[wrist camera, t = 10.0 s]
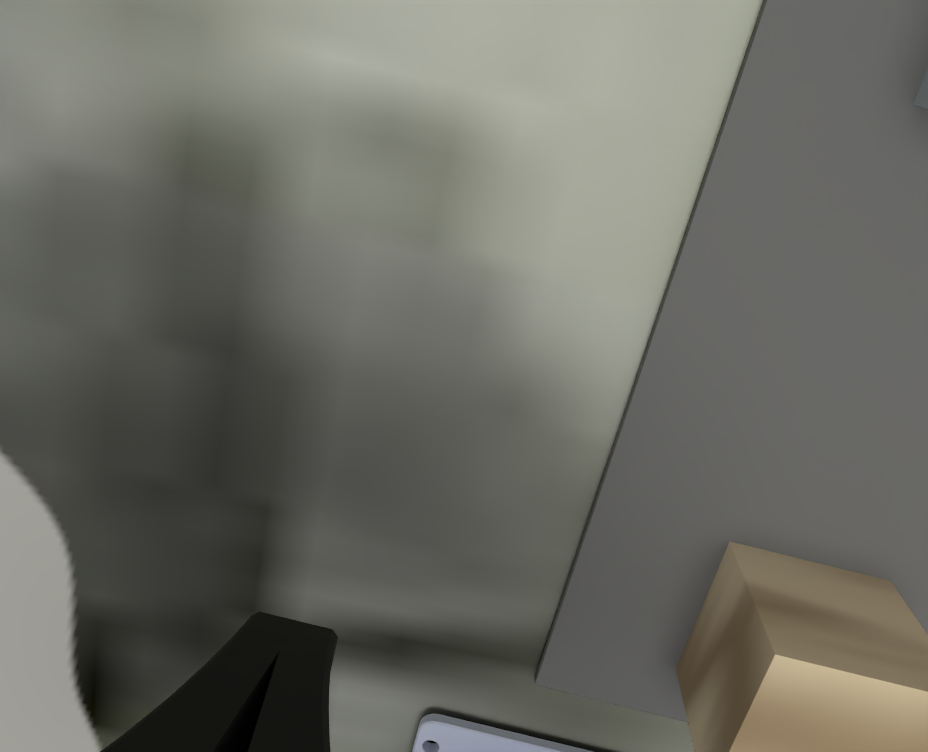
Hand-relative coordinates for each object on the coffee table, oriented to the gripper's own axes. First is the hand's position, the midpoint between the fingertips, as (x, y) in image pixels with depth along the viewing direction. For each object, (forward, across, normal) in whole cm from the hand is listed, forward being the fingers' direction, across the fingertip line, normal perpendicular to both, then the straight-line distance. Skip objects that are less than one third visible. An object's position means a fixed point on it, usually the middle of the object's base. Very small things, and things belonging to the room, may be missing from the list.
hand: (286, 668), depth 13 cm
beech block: (+9, -12, +3) cm, 15 cm away
